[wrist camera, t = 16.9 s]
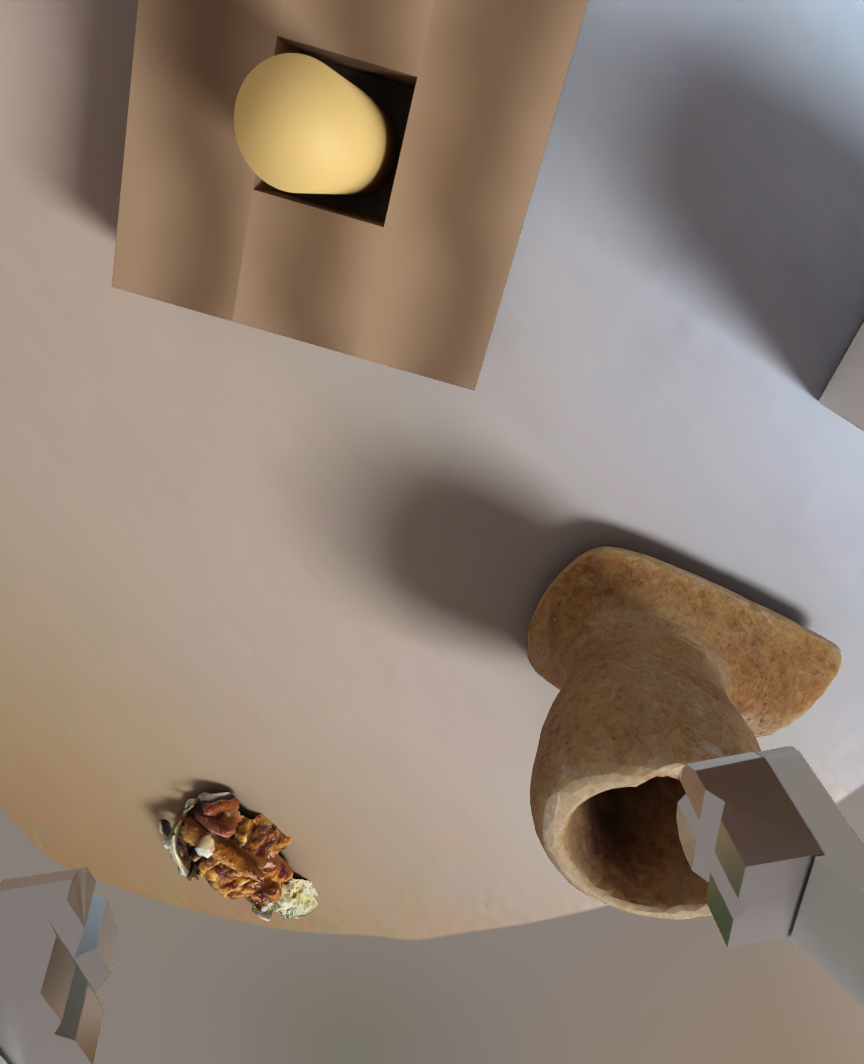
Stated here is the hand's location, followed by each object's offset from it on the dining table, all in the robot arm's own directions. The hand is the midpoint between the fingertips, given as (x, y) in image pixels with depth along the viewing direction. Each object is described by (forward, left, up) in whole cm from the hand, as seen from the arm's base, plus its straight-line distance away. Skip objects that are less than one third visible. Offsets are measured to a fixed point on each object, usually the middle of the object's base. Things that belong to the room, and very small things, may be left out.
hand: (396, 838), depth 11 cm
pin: (-8, +9, -29) cm, 32 cm away
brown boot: (+14, -12, -31) cm, 36 cm away
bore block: (-8, +9, -31) cm, 33 cm away
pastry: (-6, -36, -32) cm, 48 cm away
